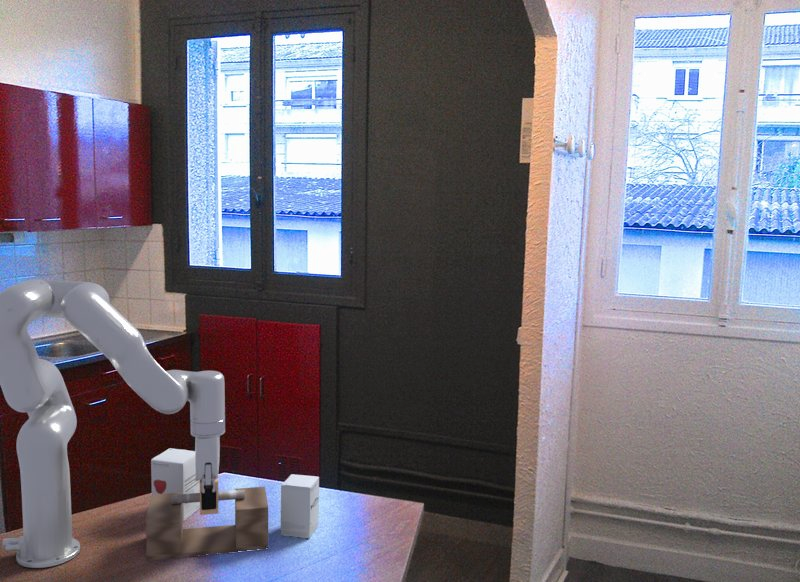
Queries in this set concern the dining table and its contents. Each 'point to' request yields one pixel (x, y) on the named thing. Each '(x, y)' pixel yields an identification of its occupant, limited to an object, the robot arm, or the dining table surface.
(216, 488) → the cord clip
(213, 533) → the rod slider mechanism
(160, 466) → the supplement box
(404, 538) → the dining table surface
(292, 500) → the supplement box
